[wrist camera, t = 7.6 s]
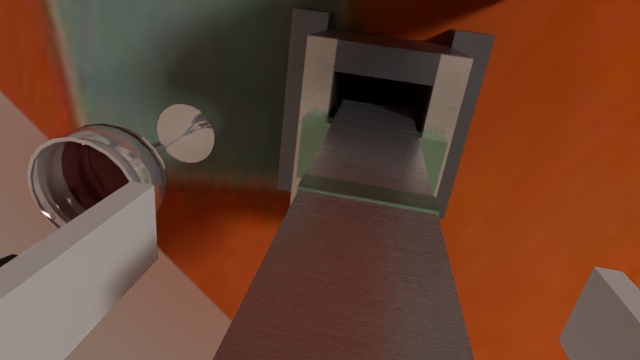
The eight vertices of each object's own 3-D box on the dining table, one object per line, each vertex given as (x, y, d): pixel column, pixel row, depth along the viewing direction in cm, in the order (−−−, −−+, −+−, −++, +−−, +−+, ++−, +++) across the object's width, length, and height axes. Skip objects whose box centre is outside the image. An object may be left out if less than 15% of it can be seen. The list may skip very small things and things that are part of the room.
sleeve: (298, 8, 28) (261, 7, 19) (487, 34, 26) (533, 44, 18) (283, 179, 33) (248, 235, 25) (440, 207, 32) (458, 275, 23)
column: (309, 158, 25) (107, 538, 7) (317, 94, 24) (77, 373, 5) (423, 178, 25) (527, 655, 6) (439, 113, 23) (642, 506, 5)
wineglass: (199, 188, 34) (111, 270, 23) (133, 139, 34) (10, 200, 23) (240, 129, 32) (163, 190, 21) (169, 74, 31) (50, 108, 20)
